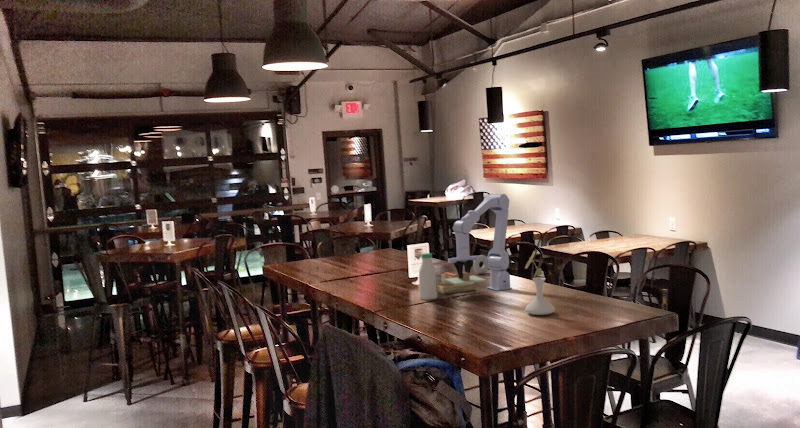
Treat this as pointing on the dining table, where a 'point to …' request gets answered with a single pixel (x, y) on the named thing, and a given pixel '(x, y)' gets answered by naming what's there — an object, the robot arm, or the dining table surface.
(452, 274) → the salmon orange bar
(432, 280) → the milk bottle
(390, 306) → the dining table surface
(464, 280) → the pale green plate
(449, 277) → the key channel
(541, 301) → the flower in vase
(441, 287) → the wooden box
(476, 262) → the donut
